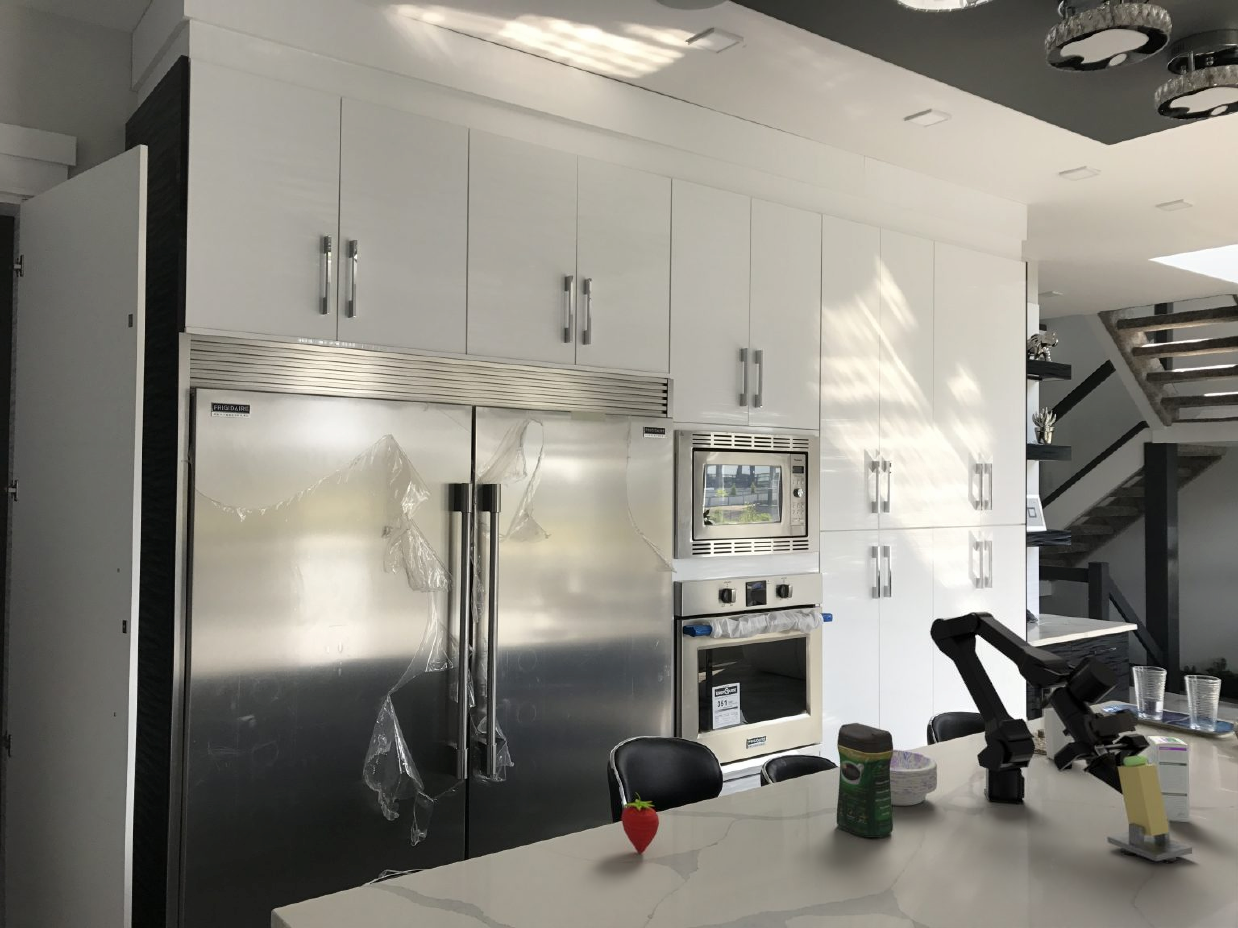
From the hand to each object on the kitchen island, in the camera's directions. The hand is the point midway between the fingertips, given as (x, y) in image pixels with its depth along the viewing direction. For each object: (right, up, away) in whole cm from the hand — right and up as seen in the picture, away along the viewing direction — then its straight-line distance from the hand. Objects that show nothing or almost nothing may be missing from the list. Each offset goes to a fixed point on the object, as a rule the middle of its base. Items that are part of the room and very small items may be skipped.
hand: (1130, 796), depth 165 cm
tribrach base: (+1, -9, -3) cm, 9 cm away
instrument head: (+1, -5, -3) cm, 6 cm away
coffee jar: (-45, -8, +5) cm, 46 cm away
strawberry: (-85, -7, -7) cm, 86 cm away
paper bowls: (-34, -9, +24) cm, 42 cm away
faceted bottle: (+13, -11, +55) cm, 58 cm away
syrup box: (+16, -10, +16) cm, 24 cm away
